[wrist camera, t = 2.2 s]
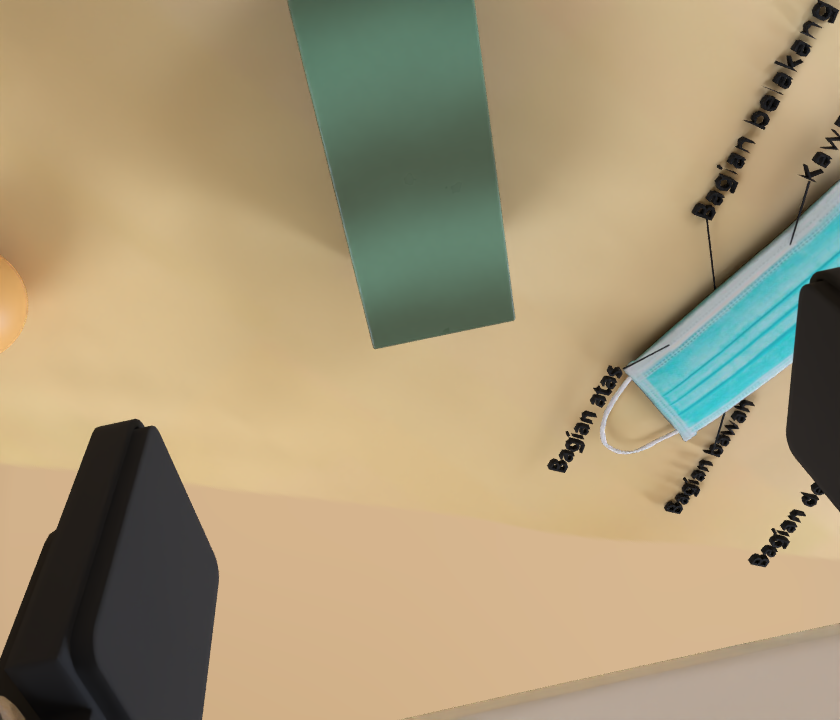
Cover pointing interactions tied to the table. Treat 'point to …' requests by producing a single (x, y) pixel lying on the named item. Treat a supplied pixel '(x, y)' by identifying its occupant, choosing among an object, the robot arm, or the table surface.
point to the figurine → (11, 304)
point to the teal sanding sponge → (409, 160)
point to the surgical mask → (734, 325)
